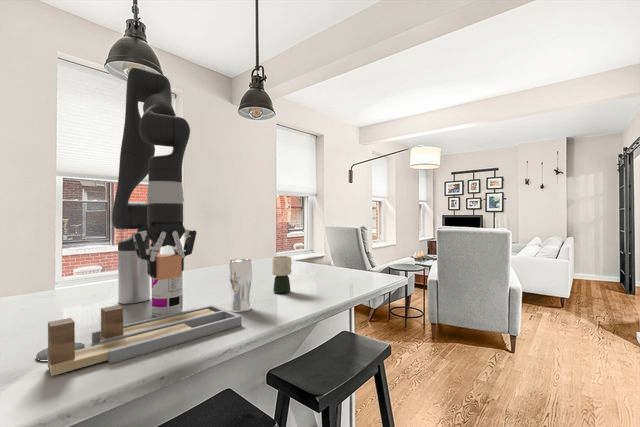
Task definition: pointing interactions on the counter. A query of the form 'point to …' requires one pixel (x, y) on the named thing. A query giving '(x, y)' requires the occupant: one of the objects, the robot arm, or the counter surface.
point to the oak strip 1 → (68, 359)
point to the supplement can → (167, 296)
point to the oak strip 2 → (114, 325)
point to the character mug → (281, 273)
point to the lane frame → (198, 329)
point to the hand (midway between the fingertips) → (166, 275)
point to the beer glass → (240, 284)
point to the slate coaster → (44, 353)
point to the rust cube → (168, 266)
